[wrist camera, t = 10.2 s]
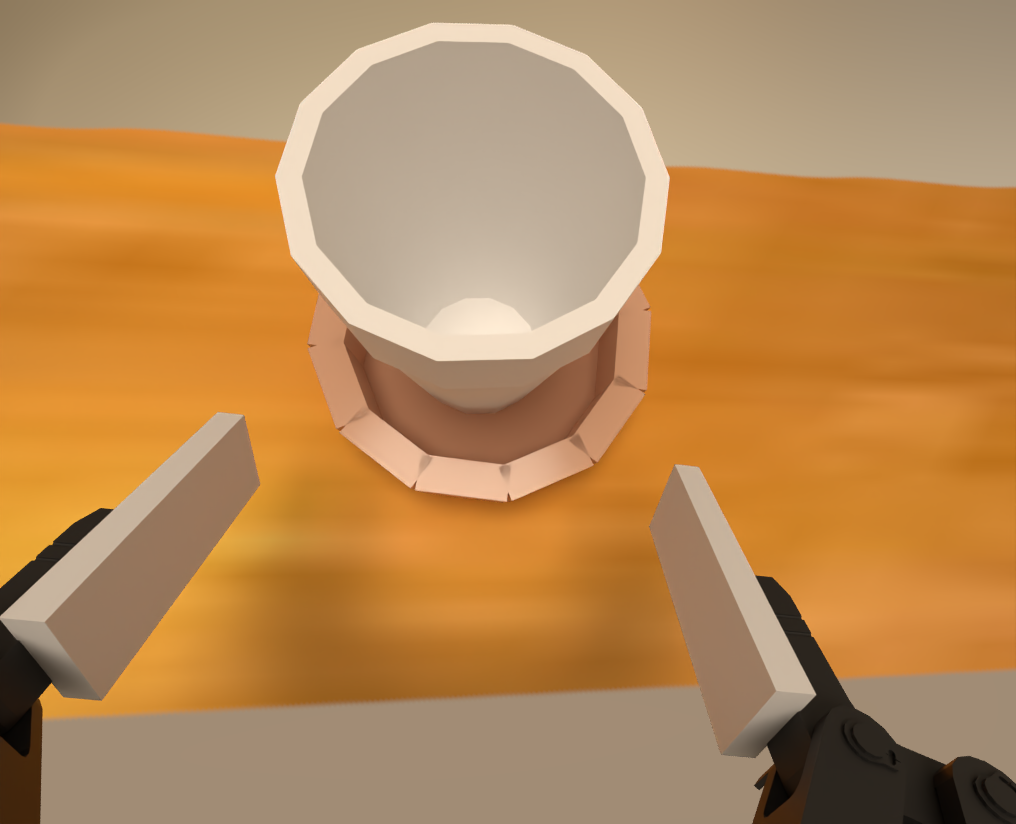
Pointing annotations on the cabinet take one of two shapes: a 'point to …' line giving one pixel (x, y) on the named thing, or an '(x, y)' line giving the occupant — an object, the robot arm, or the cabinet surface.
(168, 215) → the cabinet surface
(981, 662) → the cabinet surface
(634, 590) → the cabinet surface
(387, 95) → the foam cup
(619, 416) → the bowl
